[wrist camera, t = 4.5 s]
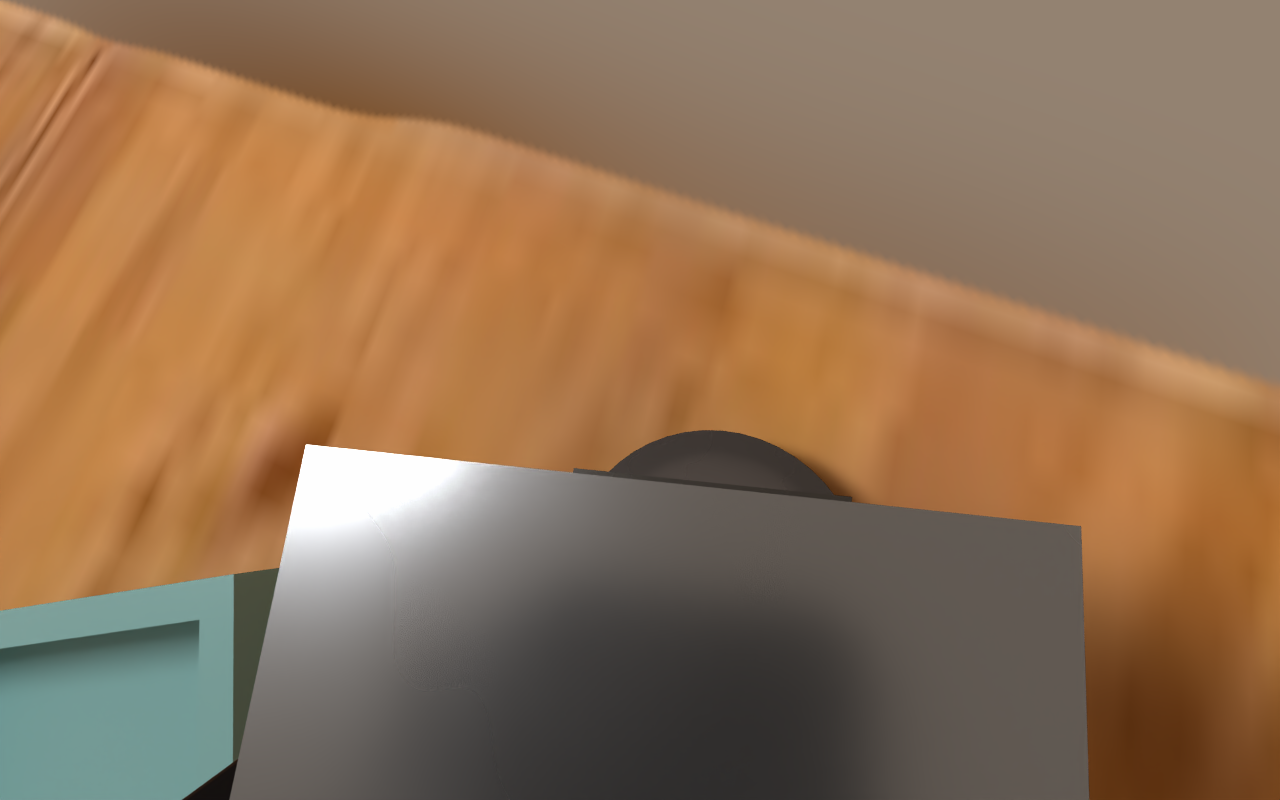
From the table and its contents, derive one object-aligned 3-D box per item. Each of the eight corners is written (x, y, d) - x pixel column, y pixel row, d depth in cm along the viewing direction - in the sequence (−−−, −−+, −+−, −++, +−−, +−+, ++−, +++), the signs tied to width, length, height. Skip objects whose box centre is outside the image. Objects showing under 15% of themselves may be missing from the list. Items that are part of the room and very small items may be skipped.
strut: (800, 709, 12) (1236, 1981, 2) (600, 675, 13) (44, 1381, 3) (812, 501, 13) (1151, 466, 2) (623, 480, 14) (273, 389, 3)
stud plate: (884, 704, 15) (954, 793, 10) (598, 734, 16) (543, 827, 11) (820, 415, 17) (854, 381, 12) (565, 459, 18) (504, 443, 13)
